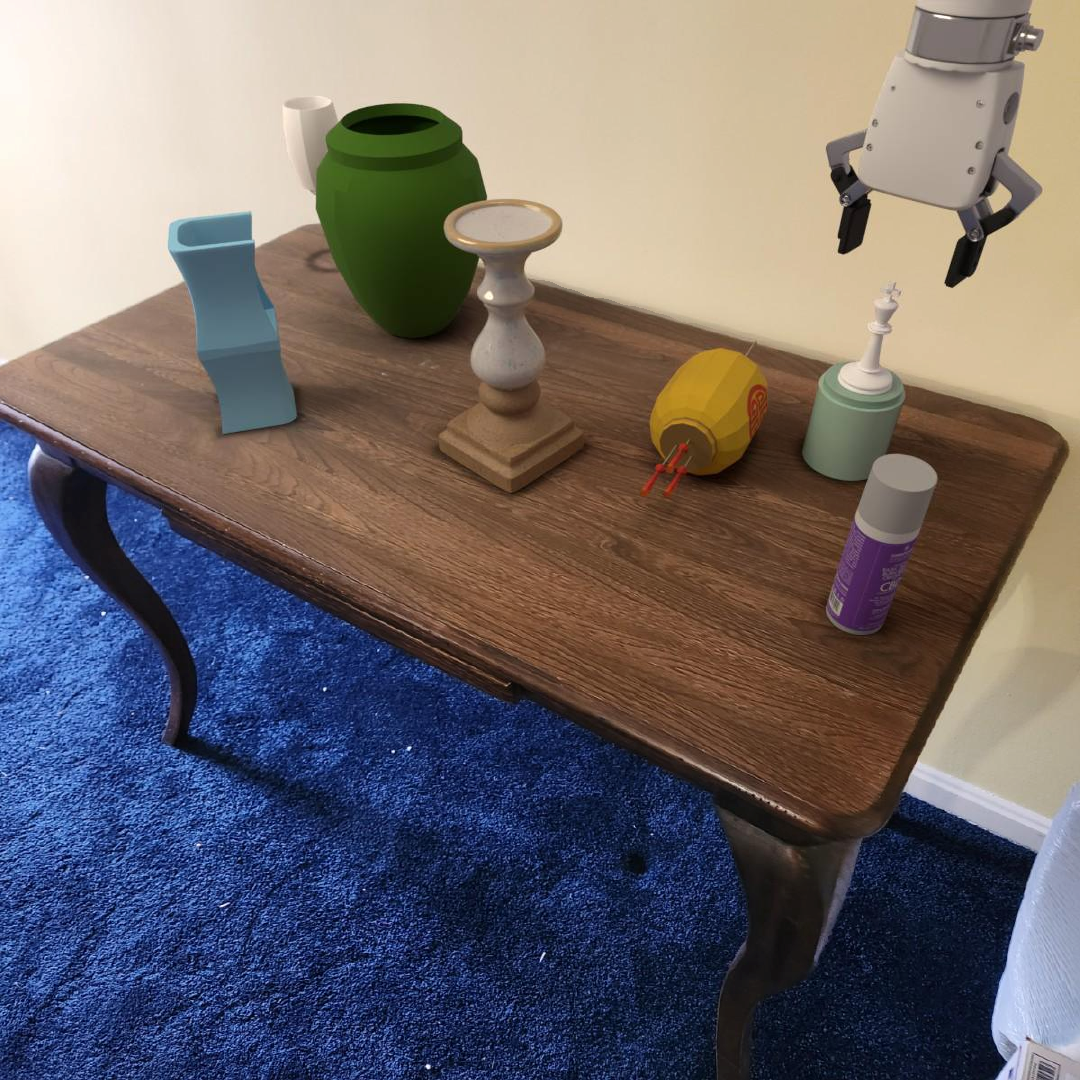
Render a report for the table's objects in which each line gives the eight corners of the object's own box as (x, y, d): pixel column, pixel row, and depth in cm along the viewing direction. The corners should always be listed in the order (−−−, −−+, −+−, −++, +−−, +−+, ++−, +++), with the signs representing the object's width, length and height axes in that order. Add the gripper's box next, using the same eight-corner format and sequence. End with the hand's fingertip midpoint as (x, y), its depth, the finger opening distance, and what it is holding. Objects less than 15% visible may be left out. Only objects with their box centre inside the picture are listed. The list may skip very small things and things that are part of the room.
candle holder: (511, 495, 83) (501, 260, 67) (437, 449, 89) (411, 221, 73) (586, 446, 89) (594, 219, 73) (512, 406, 95) (504, 186, 79)
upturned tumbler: (855, 428, 91) (877, 353, 85) (898, 473, 86) (925, 396, 79) (787, 441, 90) (805, 365, 84) (826, 487, 84) (848, 410, 78)
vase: (331, 299, 114) (294, 100, 97) (475, 280, 118) (463, 86, 101) (346, 374, 100) (306, 157, 84) (509, 350, 104) (501, 138, 87)
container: (871, 644, 69) (926, 501, 59) (816, 618, 71) (860, 476, 61) (892, 610, 72) (948, 468, 62) (838, 586, 74) (884, 444, 64)
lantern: (700, 452, 70) (797, 298, 90) (594, 443, 75) (708, 299, 95) (712, 548, 76) (801, 384, 96) (613, 534, 81) (717, 381, 100)
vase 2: (298, 422, 93) (255, 242, 79) (222, 434, 91) (166, 253, 78) (292, 384, 98) (251, 210, 85) (221, 395, 97) (168, 220, 83)
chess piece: (877, 401, 79) (908, 300, 72) (828, 382, 81) (853, 283, 75) (900, 379, 82) (931, 280, 75) (851, 362, 84) (878, 264, 77)
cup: (366, 250, 125) (343, 95, 111) (351, 272, 120) (326, 112, 106) (318, 247, 126) (289, 93, 112) (302, 269, 121) (269, 110, 107)
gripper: (1108, 46, 59) (1020, 280, 71) (877, 14, 69) (832, 226, 80) (1068, 67, 55) (982, 312, 67) (829, 29, 65) (788, 250, 76)
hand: (900, 265), depth 73 cm, fingers open, 9 cm apart
